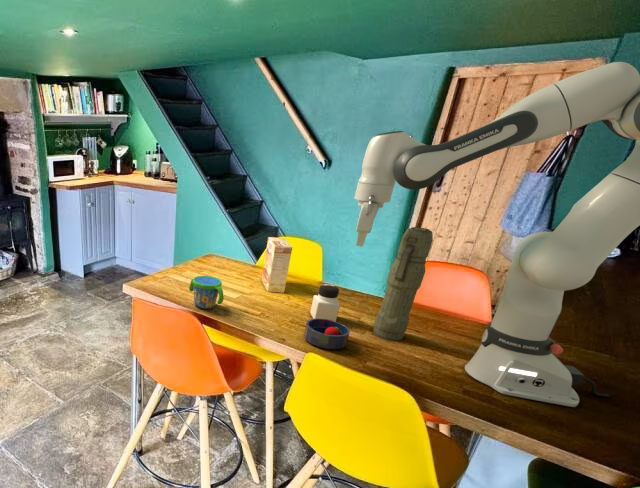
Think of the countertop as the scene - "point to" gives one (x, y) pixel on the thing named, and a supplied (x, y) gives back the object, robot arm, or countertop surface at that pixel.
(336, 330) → the tomato
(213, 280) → the snack cup
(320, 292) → the medicine bottle
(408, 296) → the olive grey tall cylinder
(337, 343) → the bowl
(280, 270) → the coffeecake box
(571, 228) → the robot arm
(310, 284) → the countertop surface
